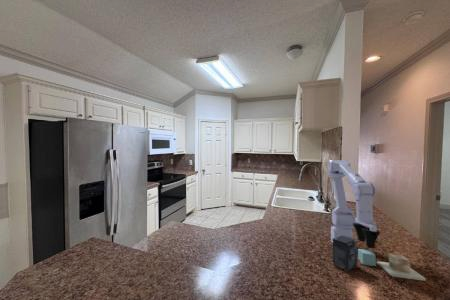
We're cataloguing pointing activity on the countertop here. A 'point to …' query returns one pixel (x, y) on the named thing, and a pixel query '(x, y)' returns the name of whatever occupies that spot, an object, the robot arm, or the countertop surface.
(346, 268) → the box
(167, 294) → the countertop surface
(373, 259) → the brick top
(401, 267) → the brick base
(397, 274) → the baseplate
